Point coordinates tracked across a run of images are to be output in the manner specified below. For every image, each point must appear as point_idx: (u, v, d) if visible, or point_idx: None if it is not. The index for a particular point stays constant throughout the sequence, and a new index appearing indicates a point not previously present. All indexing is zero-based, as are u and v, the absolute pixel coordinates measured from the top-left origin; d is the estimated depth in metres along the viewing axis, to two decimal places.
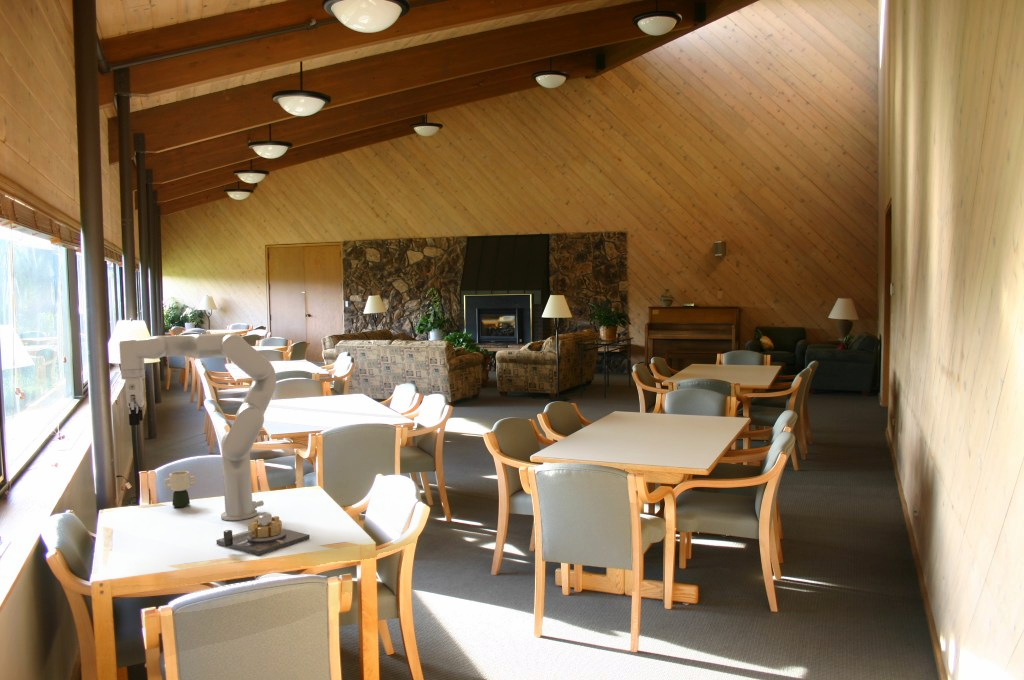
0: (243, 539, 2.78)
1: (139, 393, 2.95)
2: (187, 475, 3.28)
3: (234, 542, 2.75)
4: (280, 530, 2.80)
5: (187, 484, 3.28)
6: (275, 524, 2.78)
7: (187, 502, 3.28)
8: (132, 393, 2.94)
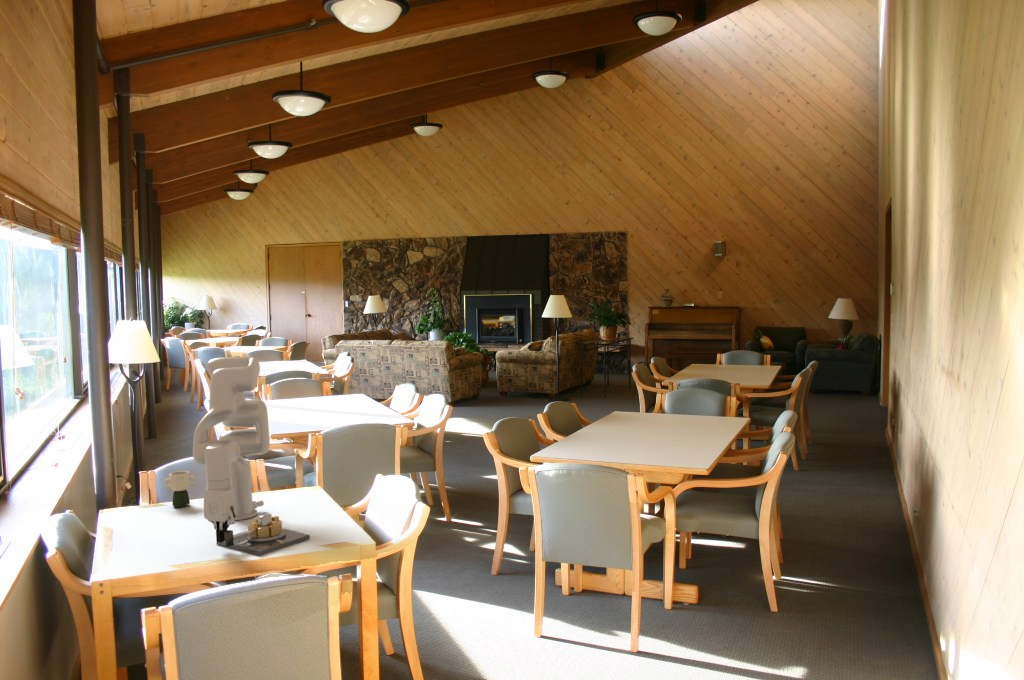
0: (243, 539, 2.78)
1: None
2: (187, 475, 3.28)
3: (234, 542, 2.75)
4: (280, 530, 2.80)
5: (187, 484, 3.28)
6: (275, 524, 2.78)
7: (187, 502, 3.28)
8: None
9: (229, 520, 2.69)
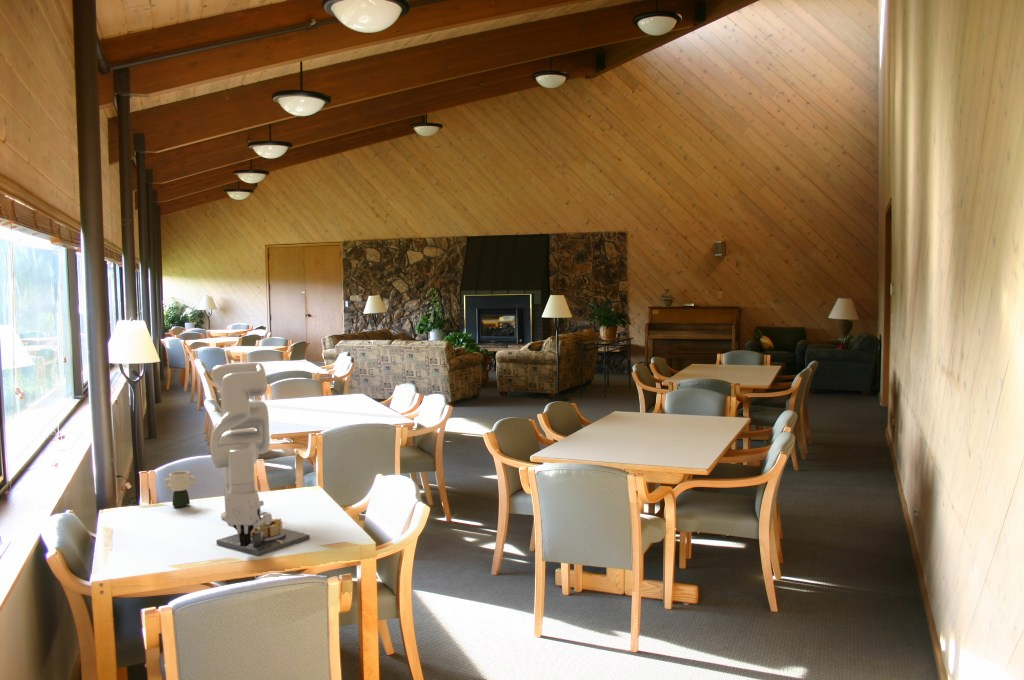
0: None
1: (225, 508, 2.66)
2: (187, 475, 3.28)
3: (234, 542, 2.75)
4: None
5: (187, 484, 3.28)
6: (281, 521, 2.81)
7: (187, 502, 3.28)
8: None
9: (256, 523, 2.65)
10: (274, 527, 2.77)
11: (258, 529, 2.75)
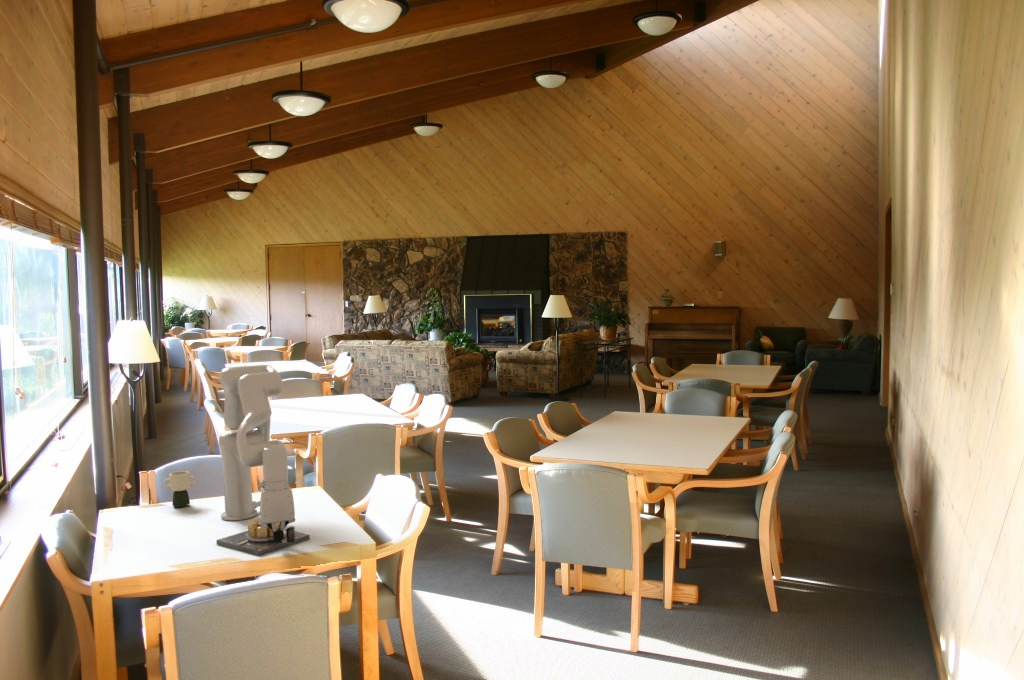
0: (243, 539, 2.78)
1: (261, 508, 2.65)
2: (187, 475, 3.28)
3: (234, 542, 2.75)
4: None
5: (187, 484, 3.28)
6: None
7: (187, 502, 3.28)
8: (260, 510, 2.67)
9: None
10: None
11: None
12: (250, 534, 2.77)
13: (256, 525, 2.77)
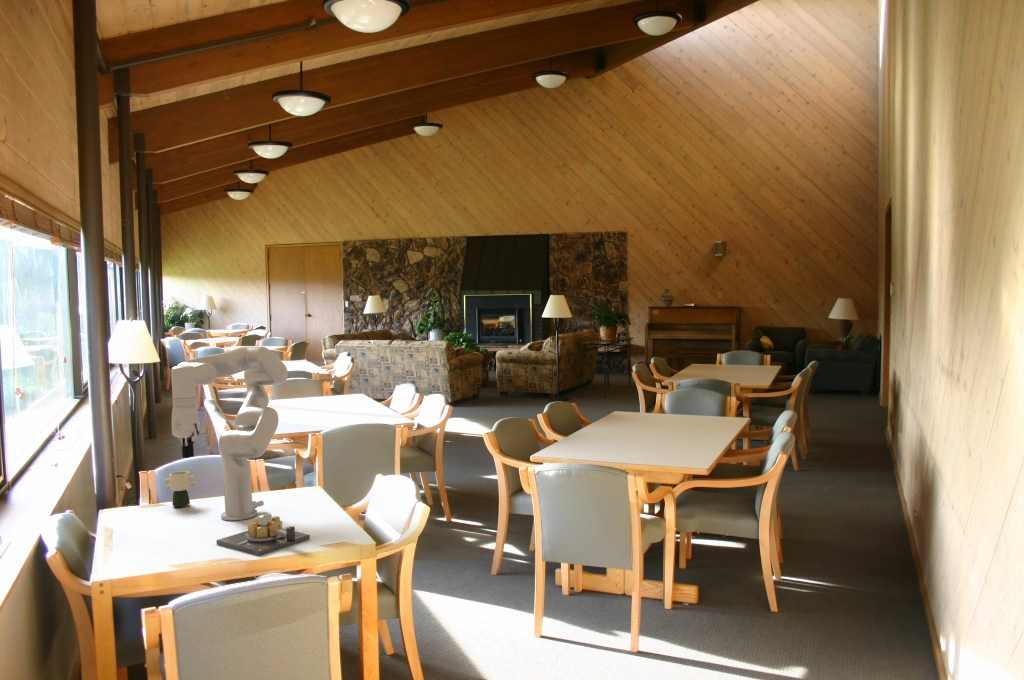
0: (243, 539, 2.78)
1: None
2: (187, 475, 3.28)
3: (234, 542, 2.75)
4: None
5: (187, 484, 3.28)
6: None
7: (187, 502, 3.28)
8: None
9: (193, 436, 2.83)
10: (281, 524, 2.81)
11: (271, 528, 2.76)
12: (250, 534, 2.77)
13: (256, 525, 2.77)
